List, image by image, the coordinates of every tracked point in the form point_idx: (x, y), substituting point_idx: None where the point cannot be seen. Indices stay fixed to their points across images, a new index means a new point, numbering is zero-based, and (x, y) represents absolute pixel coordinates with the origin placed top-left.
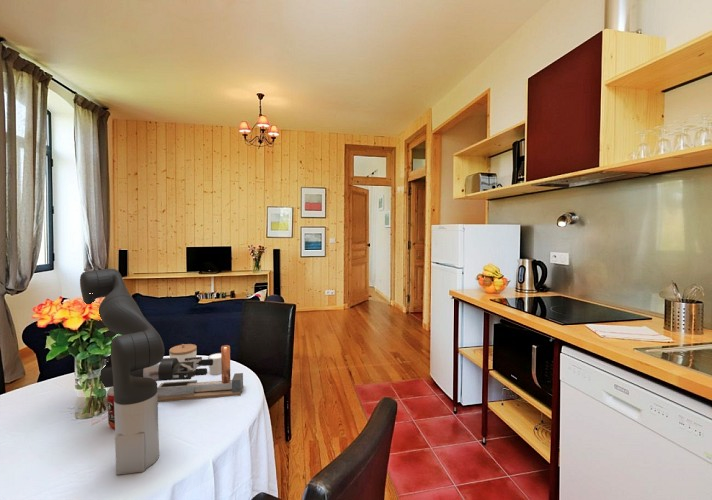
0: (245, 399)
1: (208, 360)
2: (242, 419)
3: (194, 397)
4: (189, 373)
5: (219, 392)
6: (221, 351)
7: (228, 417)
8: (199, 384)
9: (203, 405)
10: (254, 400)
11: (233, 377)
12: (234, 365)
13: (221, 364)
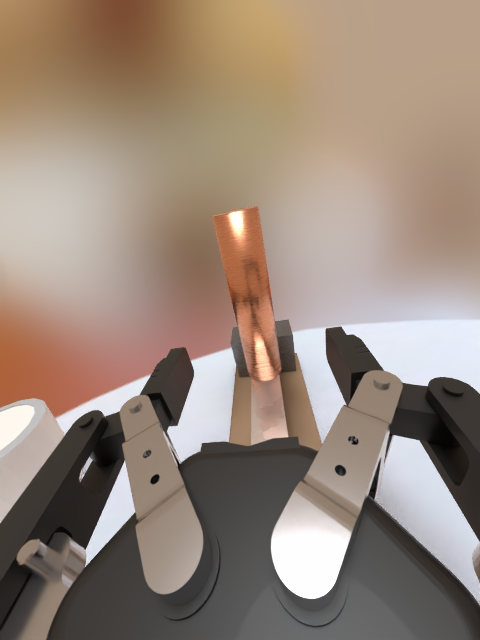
0: (320, 345)
1: (177, 363)
2: (431, 327)
3: None
4: (464, 393)
5: (293, 406)
6: (251, 234)
7: (440, 352)
8: None
9: (395, 451)
10: (324, 331)
11: None
12: None
13: (260, 307)
